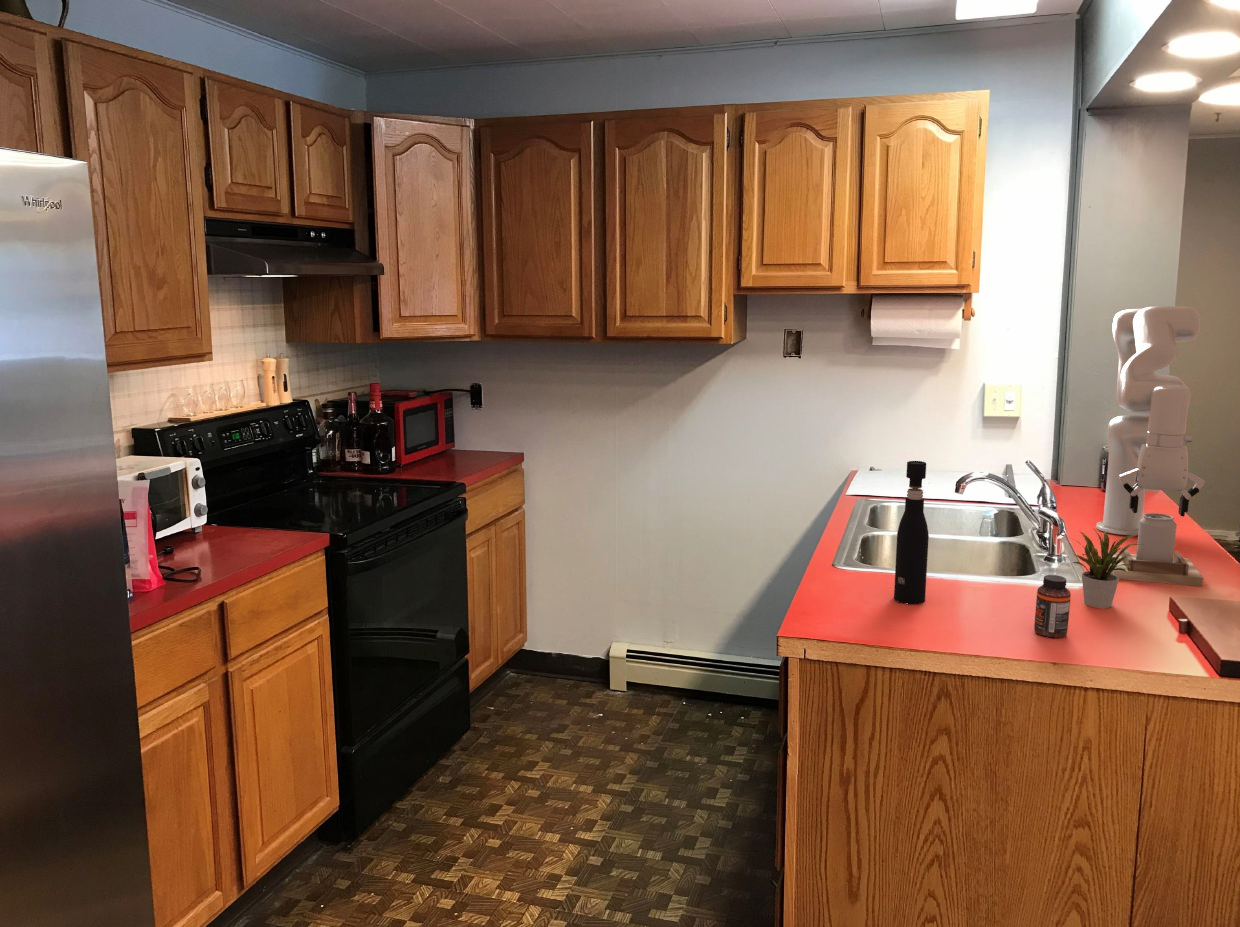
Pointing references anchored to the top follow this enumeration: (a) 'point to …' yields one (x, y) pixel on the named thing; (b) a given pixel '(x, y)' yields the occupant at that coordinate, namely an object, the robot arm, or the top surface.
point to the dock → (1159, 570)
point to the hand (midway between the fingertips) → (1157, 513)
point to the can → (1156, 538)
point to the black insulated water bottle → (912, 541)
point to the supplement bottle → (1052, 607)
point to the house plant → (1101, 571)
